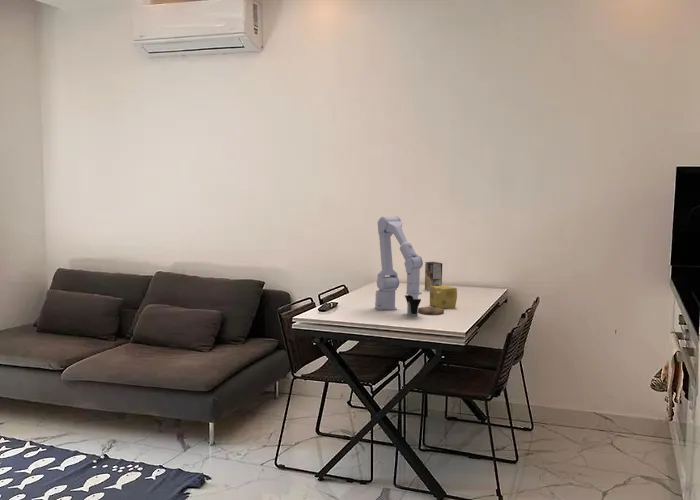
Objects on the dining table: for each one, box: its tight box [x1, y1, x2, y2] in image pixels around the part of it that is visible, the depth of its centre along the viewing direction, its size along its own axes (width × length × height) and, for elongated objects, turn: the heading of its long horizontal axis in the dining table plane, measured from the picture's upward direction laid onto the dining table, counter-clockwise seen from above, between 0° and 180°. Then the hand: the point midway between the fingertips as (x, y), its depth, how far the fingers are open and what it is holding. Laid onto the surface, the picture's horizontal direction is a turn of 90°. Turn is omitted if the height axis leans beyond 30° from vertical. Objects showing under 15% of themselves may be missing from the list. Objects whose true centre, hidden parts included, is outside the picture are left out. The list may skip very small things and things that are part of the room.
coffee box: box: [424, 261, 443, 292], centre depth 379 cm, size 9×6×16 cm
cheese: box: [429, 285, 458, 309], centre depth 329 cm, size 10×11×10 cm
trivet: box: [418, 306, 445, 316], centre depth 314 cm, size 12×12×2 cm
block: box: [406, 302, 419, 317], centre depth 306 cm, size 4×4×6 cm
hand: (412, 312), depth 306 cm, fingers open, 7 cm apart
